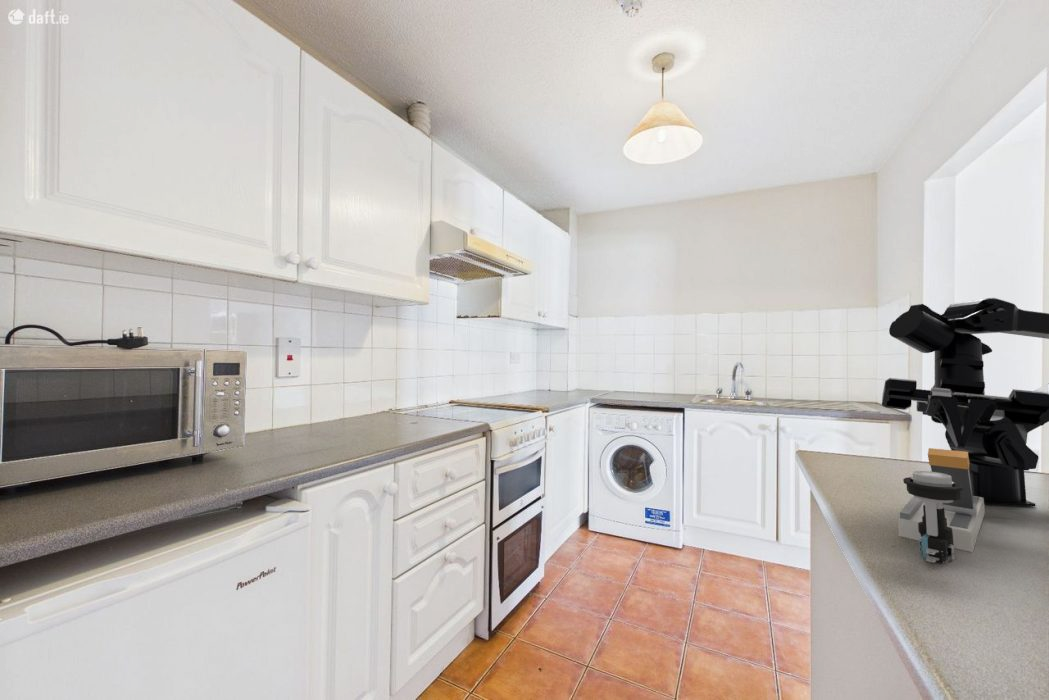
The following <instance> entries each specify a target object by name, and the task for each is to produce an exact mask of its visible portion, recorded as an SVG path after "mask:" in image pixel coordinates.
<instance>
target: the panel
mask: <svg viewBox="0 0 1049 700" xmlns="http://www.w3.org/2000/svg"><path fill="white" fill-rule="evenodd" d="M973 502H974V504H976V508H977V515H976V516H974V515H968V514H962V513H956V512H950V511H945V510H944V511H945V518H947V527H951V528H952V533H953V544H954V549H957V550H961V551H966V552H969V553H973V551H974V550H975V549H974V548H975V547H976V541H977V540H978V537H979V532H980V530H981V527H982V524H983V521H984V517H985V515H986V512H985V511H986V510H985V503H984V498H983V497H977V496H973ZM923 505H924V501H923V500H921V499H918V498H915V496H914V495H912V497H911V498H910V500H909V501H907V503H906V504H905V505H904V507H902V508H901V510H900V511H899V516H898V517H897V520H898V523H897V524H898V537H901V538H906V539H910V540H915V541H919V540H920V539H921V535H920V533H919V530H918V523H919V522H922V516H923V515H924V513H923Z"/></svg>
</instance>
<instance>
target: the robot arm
mask: <svg viewBox="0 0 1049 700" xmlns="http://www.w3.org/2000/svg"><path fill="white" fill-rule="evenodd" d="M888 333H889V335H890V336H891V337H892V338H894V339H896V340H898V341H900V342H902V343H903V344H905V345H907V346H908V347H911V348H912V349H914V350H916V351H918V352H920V353H921V354H922V353H924V354H929V353H934V384H933V386H932V387H931V388H930V389H920V388H917V385H918V384H917V380H916V379H907V378H906V379H905V378H896V377H895V378H894V377H889V378H888V379H886V380H885V381H884V386H883V390H882V391H883V392H882V396H881V397H882V399H881V406H882V407H884V408H888V409H894V410H895V409H896V410H902V411H903V410H904V411H905V410H908V409H910V408H911V407H912V401H913V402H916V412H920V413H922V415H923V416H924V415H925V416H929V417H930V418H931V421H932V422H934V423H936V424H942V425H943V427H944V428H945V433H944V435H945V436H944V437H945V440H946V442H947V444H948V447H949V450H954V451H965V452H968V456H969V472H970V480H971V487H972V495H973V496H977V497H983V498H984V505H988V506H989V505H990V506H1013V507H1036V503H1035V502H1033V501H1029V500H1027V489H1026V482H1025V481H1026V477H1025V471H1030V470H1036V468H1037V465H1038V462H1039V461H1038V460H1039V459H1040V458H1039V455H1038V454H1037V453H1035V451H1033V449H1031V448H1030V447H1029V445H1027V441H1028V434H1029V433H1030V432H1032V431H1034V430H1035V429H1037V428H1039V427H1041V426H1044V425H1045V424H1047V423H1048V422H1049V383H1046V384H1044V385H1043V386H1040V387H1039V388H1037V389H1034V390H1033V391H1032V390H1023V389H1016V388H1015V389H1014V388H1012V390H1011V392H1010V394H1009V395H1008V396H998V395H987V394H985V393H986V392H985V391H986V390H985V388H986V382H985V378H984V377H985V376H984V363H985V362H984V360H983V356H984V355H988V354H990V353H992V352H993V349H992V348H991V347H990V346H989V345H987V344H986V343H984V342H982V340H981V339H980V337H978V336H977V335H979V334H981V335H983V334H997V333H998V334H999V333H1000V334H1007V335H1015V336H1016V335H1017V336H1022V337H1023V336H1024V337H1032V338H1040V339H1045V340H1046V339H1048V340H1049V313H1047V312H1040V311H1033V310H1032V311H1031V310H1025V309H1021V308H1018V306H1017V305H1016V304H1015V303H1013V302H1011V301H1010V302H1009V301H1006V300H1004V299H1001V298H996V297H987V298H980V299H974V300H969V301H961V302H954V303H953V302H952V303H950V304H949V306H947V307H946V309H945V311H944V312H942V313H938V312H936V311H934V310H932V308H930V307H929V306H928V305H925V304H924V303H918V304H913V305H912V304H911V305H910V307H909V309H908V310H907V311H905V312H903V313H902V314H900V315H899V316H898V317H897V318H896V319H895V320H893V321H891V324H890V327H889V330H888Z"/></svg>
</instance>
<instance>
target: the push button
mask: <svg viewBox="0 0 1049 700" xmlns="http://www.w3.org/2000/svg"><path fill="white" fill-rule="evenodd" d="M902 480H903V483H904V484H905V485H906V492H907V493H908V494H909V495H912V496H915V498H918V499H921V500H923V501H924V505H923V513H924V515H923V516H922V522H919V523H918V530H919V533H920V535H921V539H920V540H918V550H919V551H918V552H919V553H921V552H922V558H923V559H924V560H925V561H926V562H930V563H933V564H935V563H939V564H944V563H945V560H947V558H949V557H948V556H951V560H952V561H954V559H955V548H954V544H953V533H952V528H951V527H947V518H945V511H944V508H943V503H951V502H953V500H959V499H961V497H960V491H962V490H963V486H962V485H960V484H958V483H955V482H953V481H952V477H951V476H950V475H947V474H943V473H937V472H932V471H928V470H927V471H925V470H915V471H912V476H909V477H905V478H903V479H902Z"/></svg>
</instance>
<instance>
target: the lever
mask: <svg viewBox="0 0 1049 700" xmlns="http://www.w3.org/2000/svg"><path fill="white" fill-rule="evenodd" d="M927 456H928V457H927V458H928V464H929V466H930V469H931V470H930V472H937V473H943V474H947V475H950V476H951V477H952V481H953V482H955V483H958V484H960V485H962V486H963V490H962V491H960V497H961V499H959V500H953V502H951V503H943V508H944V510H945V511H950V512H956V513H962V514H968V515H974V516H976V515H977V508H976V504H974V502H973V495H972V487H971V480H970V472H969V456H968V452H965V451H954V450H951V449H943V448H941V449H940V448H931V447H929V448H928V451H927Z"/></svg>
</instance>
